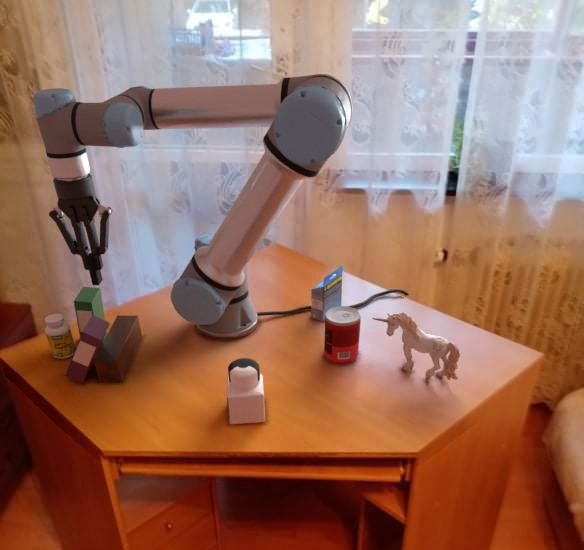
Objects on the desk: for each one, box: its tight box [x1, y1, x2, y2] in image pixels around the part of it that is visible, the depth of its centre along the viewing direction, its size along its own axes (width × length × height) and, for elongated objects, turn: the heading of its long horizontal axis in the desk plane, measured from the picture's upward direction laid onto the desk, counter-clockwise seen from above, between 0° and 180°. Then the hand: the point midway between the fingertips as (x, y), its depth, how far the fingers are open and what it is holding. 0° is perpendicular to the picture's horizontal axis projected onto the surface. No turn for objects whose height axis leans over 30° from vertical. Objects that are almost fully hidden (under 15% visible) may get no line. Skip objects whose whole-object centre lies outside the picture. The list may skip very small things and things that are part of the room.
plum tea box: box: [64, 315, 111, 384], centre depth 128 cm, size 4×7×13 cm, turn 1°
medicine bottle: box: [226, 357, 266, 425], centre depth 117 cm, size 7×7×12 cm
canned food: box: [323, 305, 362, 366], centre depth 134 cm, size 8×8×11 cm
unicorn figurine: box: [371, 311, 461, 381], centre depth 128 cm, size 7×20×13 cm, turn 68°
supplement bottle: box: [44, 313, 76, 360], centre depth 136 cm, size 5×5×10 cm
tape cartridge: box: [310, 264, 344, 322], centre depth 149 cm, size 9×4×12 cm, turn 144°
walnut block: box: [93, 315, 143, 384], centre depth 135 cm, size 5×19×6 cm, turn 178°
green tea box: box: [73, 286, 108, 351], centre depth 138 cm, size 4×7×13 cm, turn 179°
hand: (97, 282), depth 133 cm, fingers closed
